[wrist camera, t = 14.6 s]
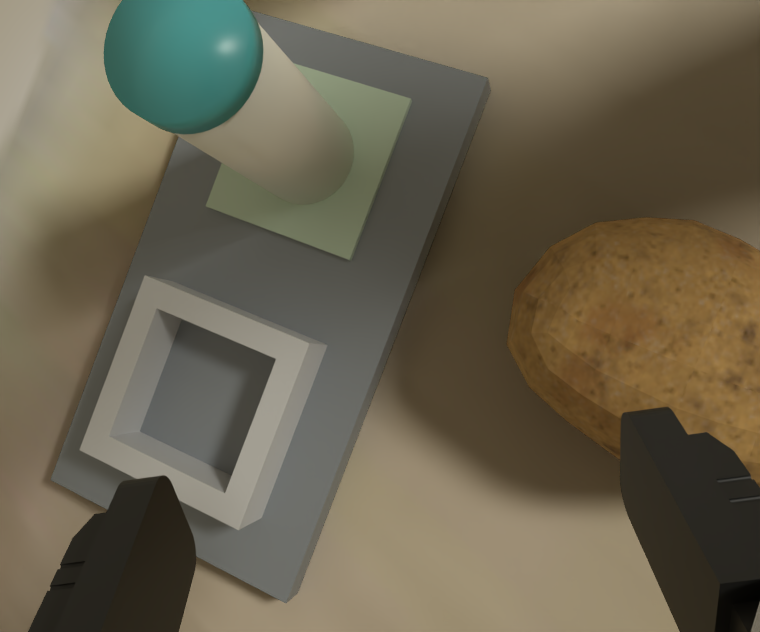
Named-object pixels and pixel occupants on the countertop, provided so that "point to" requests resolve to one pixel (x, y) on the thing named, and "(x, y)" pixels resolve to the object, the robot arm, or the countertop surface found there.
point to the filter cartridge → (227, 93)
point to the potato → (645, 330)
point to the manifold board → (272, 314)
